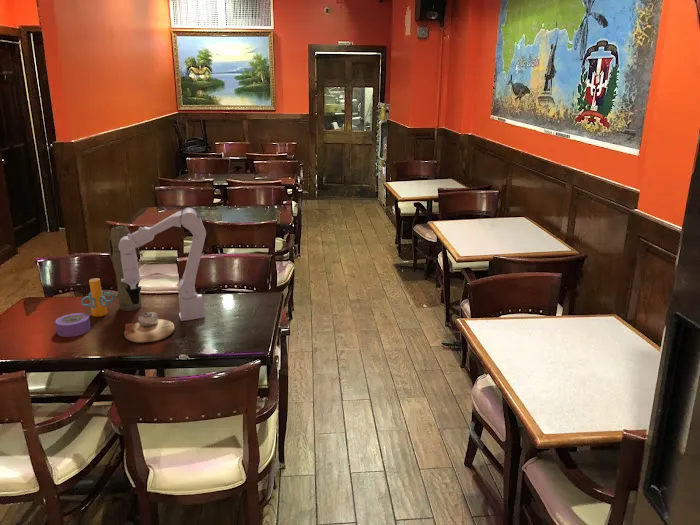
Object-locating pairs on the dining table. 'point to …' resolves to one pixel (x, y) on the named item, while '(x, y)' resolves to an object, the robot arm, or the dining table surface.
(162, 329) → the disc
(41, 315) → the dining table surface
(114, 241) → the thermos
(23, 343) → the dining table surface
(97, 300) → the cylinder
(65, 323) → the tape roll
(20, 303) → the dining table surface
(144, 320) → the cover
